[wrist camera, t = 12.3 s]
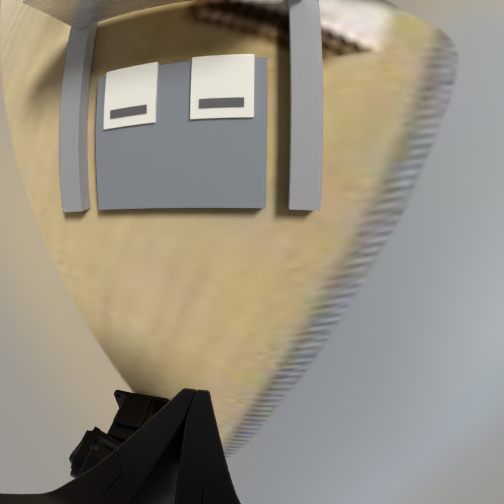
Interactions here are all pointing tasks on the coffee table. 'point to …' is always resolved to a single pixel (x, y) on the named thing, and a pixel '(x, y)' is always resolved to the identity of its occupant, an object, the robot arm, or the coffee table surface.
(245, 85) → the grey railed panel
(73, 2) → the light grey upright panel
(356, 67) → the coffee table surface
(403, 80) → the coffee table surface
